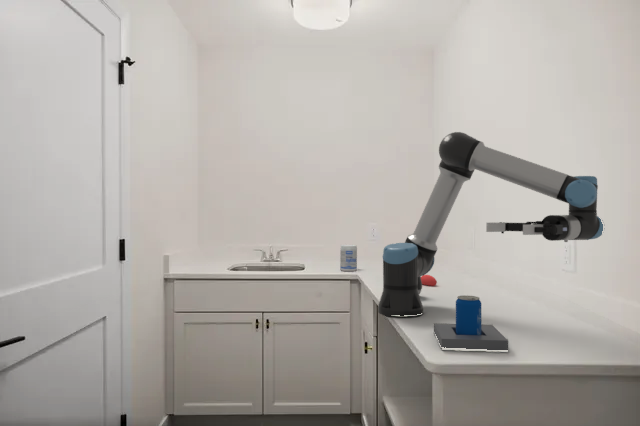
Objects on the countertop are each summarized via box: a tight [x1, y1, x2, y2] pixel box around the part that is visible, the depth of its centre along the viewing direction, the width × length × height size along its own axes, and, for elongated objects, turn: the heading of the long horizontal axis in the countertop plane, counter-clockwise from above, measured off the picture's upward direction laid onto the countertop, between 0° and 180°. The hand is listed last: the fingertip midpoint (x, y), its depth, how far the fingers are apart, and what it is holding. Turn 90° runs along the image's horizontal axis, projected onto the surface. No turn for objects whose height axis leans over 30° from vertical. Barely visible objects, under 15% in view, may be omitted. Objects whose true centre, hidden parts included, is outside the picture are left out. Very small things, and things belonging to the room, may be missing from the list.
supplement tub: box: [339, 244, 358, 272], centre depth 269 cm, size 10×10×15 cm
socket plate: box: [433, 322, 509, 351], centre depth 123 cm, size 16×16×3 cm
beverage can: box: [455, 295, 482, 335], centre depth 123 cm, size 6×6×12 cm
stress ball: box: [421, 274, 438, 287], centre depth 217 cm, size 5×9×6 cm, turn 18°
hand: (504, 228), depth 131 cm, fingers open, 13 cm apart
